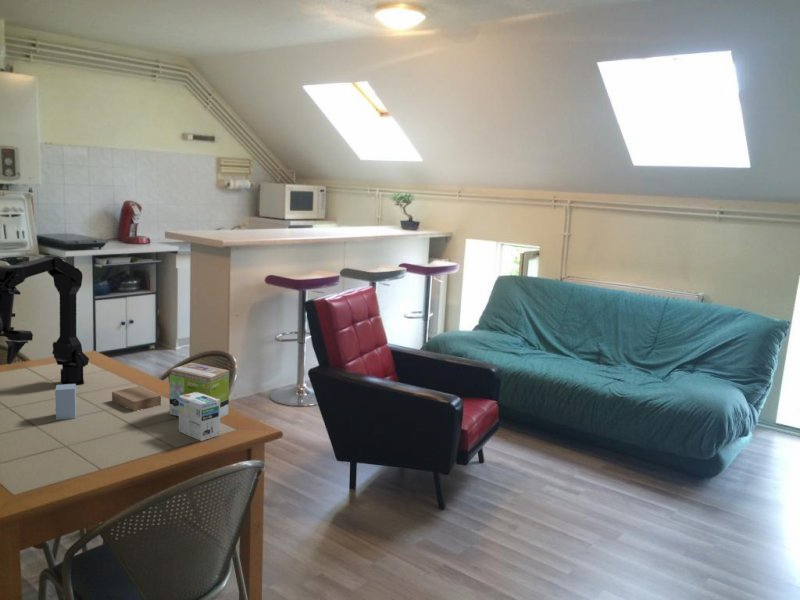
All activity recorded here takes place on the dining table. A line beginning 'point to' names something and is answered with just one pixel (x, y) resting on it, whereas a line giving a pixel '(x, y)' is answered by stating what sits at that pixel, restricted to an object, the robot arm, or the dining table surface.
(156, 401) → the stack block
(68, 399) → the pillar block
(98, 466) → the dining table surface
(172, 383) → the tea box
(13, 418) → the dining table surface
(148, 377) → the dining table surface
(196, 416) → the light bulb box
